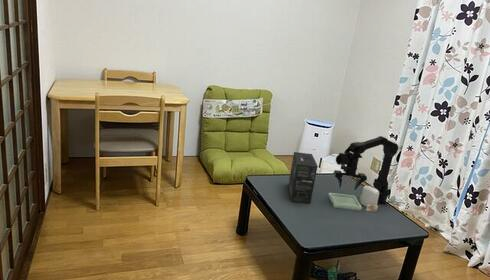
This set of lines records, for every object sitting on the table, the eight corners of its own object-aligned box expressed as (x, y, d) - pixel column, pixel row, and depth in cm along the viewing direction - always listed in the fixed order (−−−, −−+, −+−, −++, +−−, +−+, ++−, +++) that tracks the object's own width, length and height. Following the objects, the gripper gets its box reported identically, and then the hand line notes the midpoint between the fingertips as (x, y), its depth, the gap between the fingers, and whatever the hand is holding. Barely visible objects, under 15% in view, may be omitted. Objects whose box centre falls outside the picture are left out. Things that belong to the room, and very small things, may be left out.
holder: (368, 201, 235) (370, 196, 234) (376, 211, 221) (377, 206, 220) (359, 200, 235) (360, 195, 234) (366, 210, 221) (367, 205, 220)
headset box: (311, 203, 221) (318, 162, 214) (290, 201, 221) (297, 159, 214) (305, 188, 243) (312, 150, 236) (287, 186, 243) (293, 148, 236)
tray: (353, 199, 236) (354, 195, 235) (361, 210, 220) (361, 206, 220) (328, 196, 235) (329, 192, 235) (334, 207, 220) (334, 203, 219)
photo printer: (358, 203, 231) (362, 184, 228) (362, 202, 233) (367, 183, 230) (372, 210, 223) (377, 191, 220) (377, 209, 226) (381, 190, 222)
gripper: (363, 161, 229) (358, 185, 233) (333, 158, 229) (329, 182, 233) (369, 168, 218) (364, 192, 223) (337, 164, 218) (333, 189, 222)
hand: (347, 188), depth 225 cm, fingers open, 9 cm apart
